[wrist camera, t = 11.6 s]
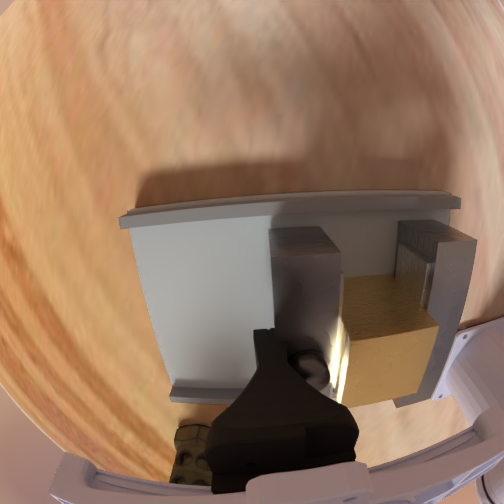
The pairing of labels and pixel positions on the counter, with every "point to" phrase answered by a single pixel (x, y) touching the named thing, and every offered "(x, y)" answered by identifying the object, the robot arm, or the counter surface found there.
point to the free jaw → (307, 301)
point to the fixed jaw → (434, 286)
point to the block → (381, 341)
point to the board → (249, 270)
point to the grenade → (191, 457)
